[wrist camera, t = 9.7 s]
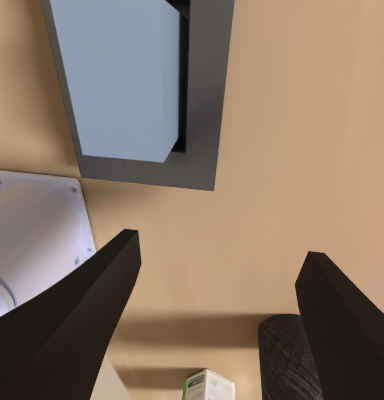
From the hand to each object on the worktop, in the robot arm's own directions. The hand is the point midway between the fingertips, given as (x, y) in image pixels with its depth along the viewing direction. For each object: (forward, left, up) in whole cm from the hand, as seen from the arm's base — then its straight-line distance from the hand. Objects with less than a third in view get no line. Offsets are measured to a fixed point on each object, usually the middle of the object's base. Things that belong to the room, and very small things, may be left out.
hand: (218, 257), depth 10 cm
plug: (+6, +5, -9) cm, 12 cm away
